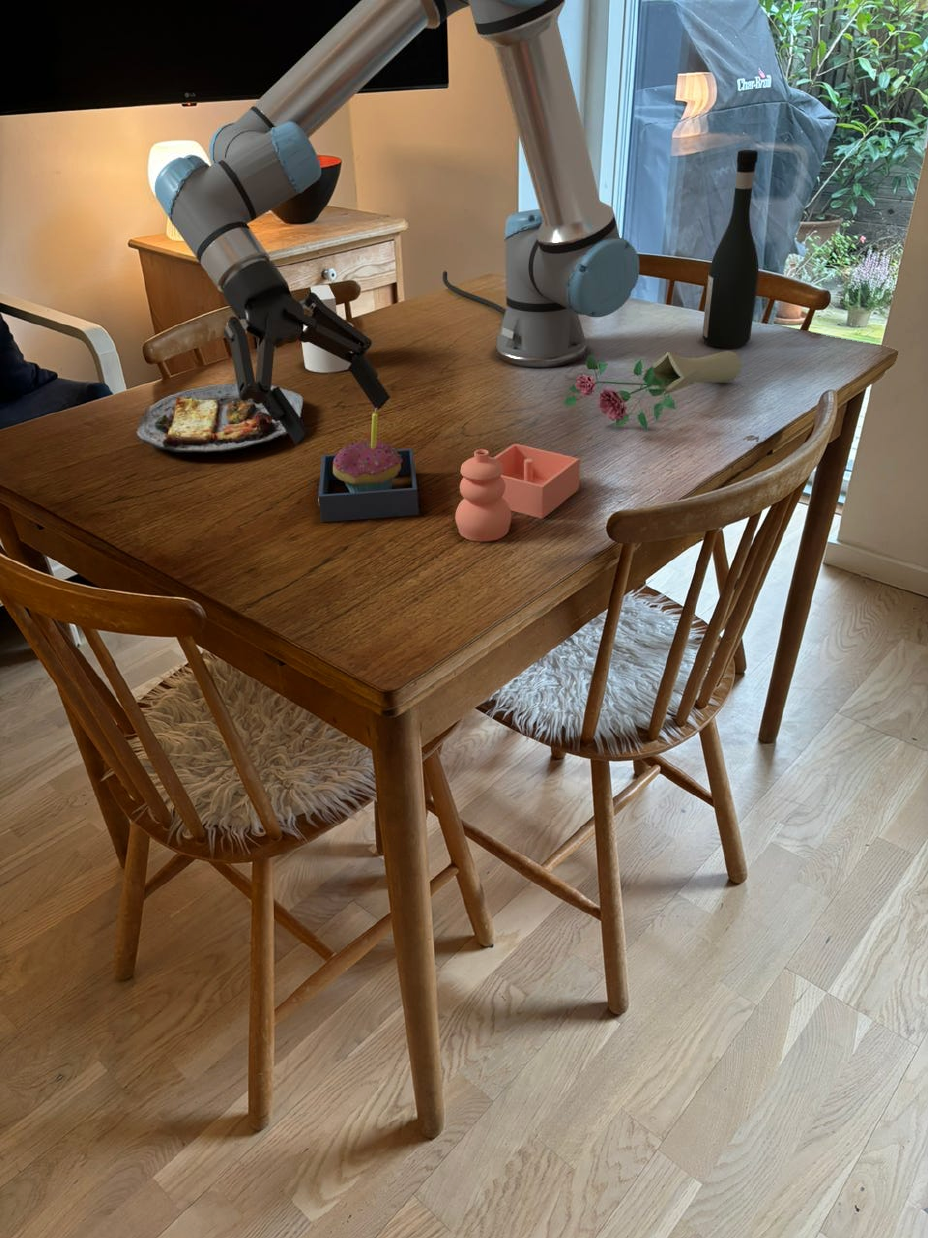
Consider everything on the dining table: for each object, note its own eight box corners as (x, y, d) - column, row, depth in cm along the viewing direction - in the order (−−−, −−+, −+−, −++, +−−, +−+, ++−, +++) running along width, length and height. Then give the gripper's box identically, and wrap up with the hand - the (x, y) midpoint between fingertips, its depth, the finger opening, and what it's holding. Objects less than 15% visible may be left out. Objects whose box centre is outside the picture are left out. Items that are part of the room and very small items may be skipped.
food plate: (296, 458, 131) (293, 434, 129) (126, 469, 130) (120, 445, 128) (308, 393, 151) (305, 371, 149) (161, 402, 151) (156, 380, 149)
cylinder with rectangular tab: (361, 368, 160) (353, 296, 153) (307, 375, 158) (298, 302, 152) (353, 352, 167) (345, 282, 161) (302, 358, 166) (292, 287, 159)
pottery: (514, 473, 124) (513, 401, 119) (578, 489, 120) (581, 415, 114) (434, 531, 112) (429, 454, 106) (502, 551, 107) (500, 472, 102)
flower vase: (730, 435, 150) (609, 464, 125) (670, 395, 155) (543, 415, 130) (768, 367, 143) (649, 383, 118) (705, 328, 148) (577, 335, 123)
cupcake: (414, 485, 122) (407, 396, 115) (388, 515, 116) (379, 423, 109) (353, 478, 125) (343, 390, 118) (325, 507, 118) (312, 416, 111)
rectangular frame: (324, 479, 125) (321, 454, 123) (414, 472, 125) (412, 448, 123) (321, 522, 115) (317, 496, 113) (419, 515, 115) (417, 489, 114)
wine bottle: (693, 344, 163) (712, 152, 147) (715, 332, 168) (736, 145, 152) (736, 353, 159) (760, 156, 142) (757, 340, 164) (784, 148, 147)
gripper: (310, 274, 127) (400, 405, 127) (152, 321, 112) (254, 470, 112) (333, 237, 121) (427, 374, 121) (169, 281, 106) (277, 438, 106)
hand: (344, 420), depth 116 cm, fingers open, 13 cm apart
